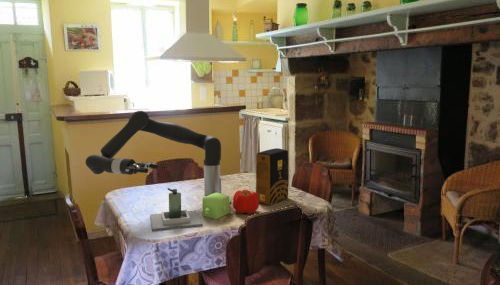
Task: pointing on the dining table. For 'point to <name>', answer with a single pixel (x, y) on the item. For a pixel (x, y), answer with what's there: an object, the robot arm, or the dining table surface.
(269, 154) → the black and gold box
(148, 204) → the dining table surface
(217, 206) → the gearbox
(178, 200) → the spout can
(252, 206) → the tomato
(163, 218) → the pad
